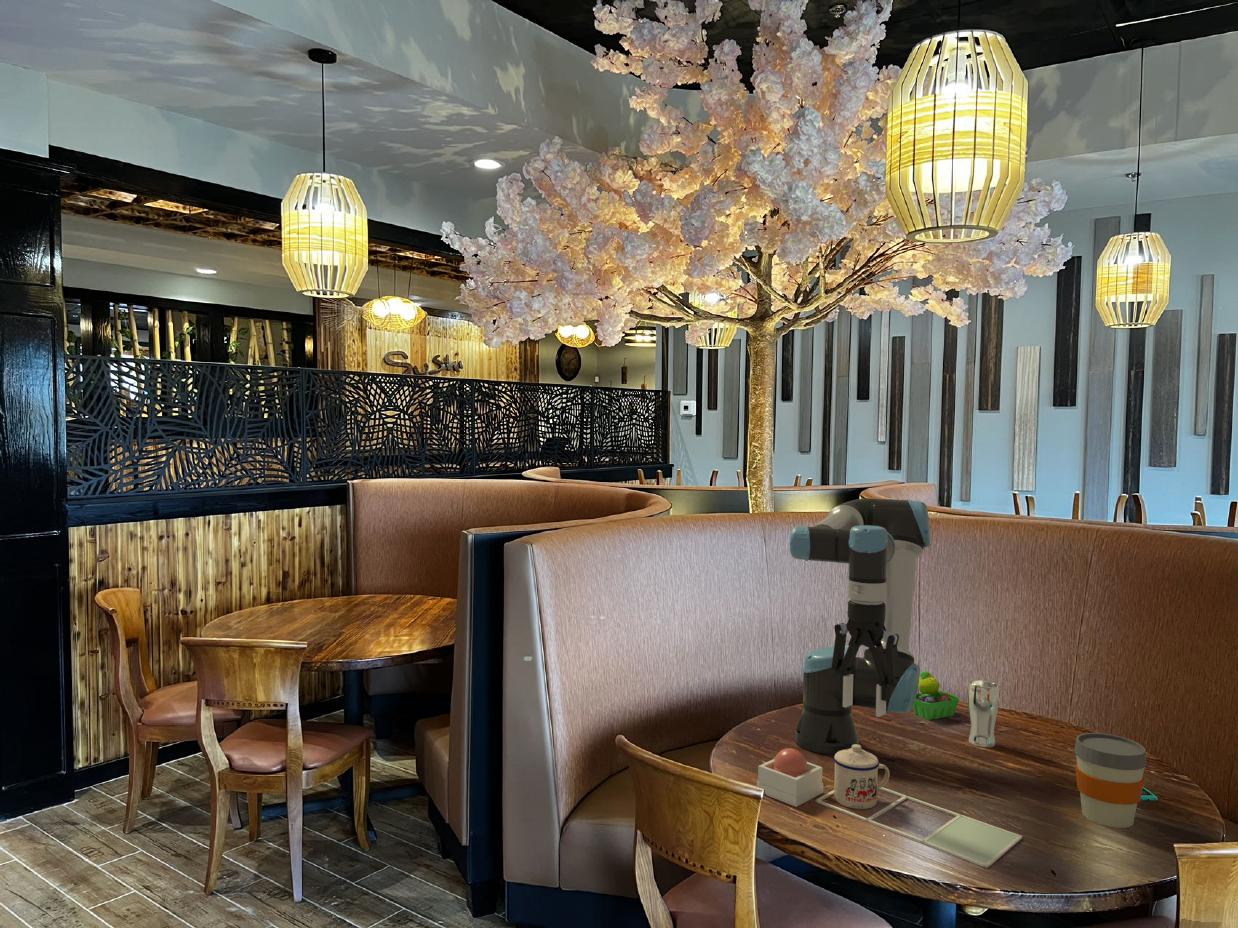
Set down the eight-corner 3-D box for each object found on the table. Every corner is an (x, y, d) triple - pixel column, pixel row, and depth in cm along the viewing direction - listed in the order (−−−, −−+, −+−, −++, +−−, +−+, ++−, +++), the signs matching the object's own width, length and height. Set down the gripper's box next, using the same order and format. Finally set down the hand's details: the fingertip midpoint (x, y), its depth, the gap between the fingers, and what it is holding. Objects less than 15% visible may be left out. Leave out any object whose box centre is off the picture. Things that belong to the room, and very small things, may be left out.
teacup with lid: (844, 812, 169) (846, 755, 168) (825, 792, 178) (826, 738, 177) (899, 807, 171) (900, 751, 171) (877, 788, 180) (879, 735, 180)
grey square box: (756, 791, 178) (757, 765, 178) (783, 777, 185) (784, 753, 185) (796, 806, 171) (796, 780, 171) (823, 792, 178) (823, 767, 178)
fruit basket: (927, 722, 222) (928, 680, 221) (904, 711, 230) (905, 671, 229) (960, 717, 226) (962, 676, 225) (937, 707, 234) (938, 667, 234)
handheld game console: (1116, 771, 192) (1116, 766, 192) (1159, 803, 176) (1160, 796, 176) (1072, 770, 192) (1072, 765, 192) (1111, 802, 176) (1111, 795, 176)
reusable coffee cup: (1114, 801, 175) (1116, 731, 174) (1159, 830, 163) (1162, 754, 162) (1058, 804, 174) (1061, 733, 173) (1100, 833, 161) (1103, 757, 161)
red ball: (766, 781, 178) (767, 748, 178) (785, 772, 183) (786, 740, 182) (794, 791, 173) (795, 758, 173) (813, 782, 178) (814, 749, 177)
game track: (814, 801, 173) (815, 799, 173) (855, 779, 185) (856, 777, 185) (987, 868, 148) (987, 866, 148) (1022, 837, 159) (1022, 835, 159)
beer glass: (999, 741, 208) (1001, 682, 208) (994, 750, 202) (996, 689, 202) (969, 735, 212) (971, 677, 211) (964, 744, 206) (966, 684, 205)
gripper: (815, 595, 177) (812, 702, 178) (902, 611, 163) (899, 727, 164) (834, 591, 182) (831, 694, 183) (921, 606, 168) (917, 718, 169)
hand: (863, 710), depth 174 cm, fingers open, 7 cm apart
